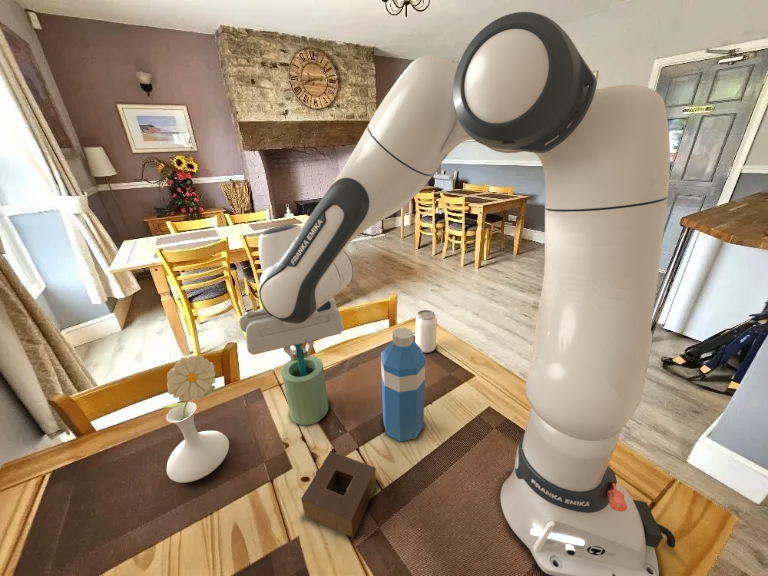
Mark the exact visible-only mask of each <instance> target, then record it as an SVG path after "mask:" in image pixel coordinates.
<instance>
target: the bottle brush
mask: <svg viewBox="0 0 768 576" xmlns="http://www.w3.org/2000/svg"><path fill="white" fill-rule="evenodd" d="M303 344H304V343H300V344H296V345H293V347H294V348H295V350H296V352H297V356H298V364H299V370H300V376H301V377H303V376H306V375H307V374H306V368H305V362H304V356H303V349H302V348H303Z"/></svg>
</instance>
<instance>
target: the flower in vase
mask: <svg viewBox="0 0 768 576" xmlns="http://www.w3.org/2000/svg"><path fill="white" fill-rule="evenodd" d="M216 375H217V373H216V371H215V365H214V363H213V362H212V361H209V359H208V358H205V357H204V356H203V355H199V354H197V355H190V356H188V357H187V356H186V357H181V358H180V359H179V360H178V361H177V362H176V363H175V364H174V366H173V367H172V368H170V370H169V371H167V374H166V380H167V382H166V386H167V393H168V395H170V396H171V395H173V396H172V397H173V398H175V399H177V398H178V401H179V402H176V403H170V404H167V405H165V406H163V405H161V407H163V408H166V409H170V410H169V411H168V413H167V414H166V417H165V419H166V421H167V422H168V423H171V424H174V425H176V426H177V427H178V428H179V430H180V431H181V433H182V435H183V438H184V439H183V440H182V441H181V442H180V443H179V444H178V445H177V446H176V447H175V448H174V450H173V451H172V452H171V453H170V456H169V457H168V460H167V463H166V474H167V476H168V478H169V479H170V480H171V481H174V482H176V483H192V482H195V481H198V480H200V479H203V478H205V477H207V476H208V475H210V474H211V473H213V472H214V471H215V470H216V469H218V467H220V465H221V464H222V462H223V461H224V460H225V458H226V457H227V454H228V452H229V448H230V441H229V438H228V437H227V436H226V435H225V434H224V433H223V432H221V431H218V430H203V431H199V432H198V430H197V428H196V425H195V419H194V417H195V413H196V411H197V404H196V403H195V402H192V400H197V399H203V398H205V397H207V396H208V395H210V393H212V392H213V391H214V390H215V388H216V386H215V385H214V384H215V383H216V378H215V376H216ZM183 401H184V402H183Z"/></svg>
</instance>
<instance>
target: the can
mask: <svg viewBox="0 0 768 576" xmlns="http://www.w3.org/2000/svg"><path fill="white" fill-rule="evenodd" d="M437 327H438V318H437V314H436V313H435V312H434V311H432V310H429V309H423V310H419V311H418V312H417V313H416V316H415V329H414V330H415V333H414V334H415V335H414V337H415V338H414V341H415V343H416V344H417V345H418V346H419V347H420V348H421V350H422V352H423V354H424V353H425V354H429V353H432V352H433V351H435V349H436V347H437V346H436V345H437V331H438V330H437Z"/></svg>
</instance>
